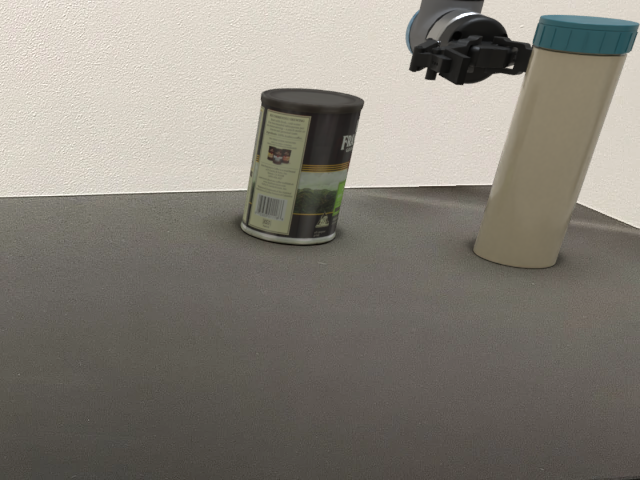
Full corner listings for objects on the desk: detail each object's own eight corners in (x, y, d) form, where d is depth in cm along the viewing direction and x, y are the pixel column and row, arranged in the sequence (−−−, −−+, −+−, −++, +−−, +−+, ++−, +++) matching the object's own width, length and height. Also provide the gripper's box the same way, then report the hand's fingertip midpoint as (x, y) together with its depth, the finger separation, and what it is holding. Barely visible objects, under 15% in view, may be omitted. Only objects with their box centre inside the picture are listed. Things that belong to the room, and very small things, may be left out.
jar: (555, 251, 103) (632, 26, 92) (556, 273, 97) (639, 34, 85) (474, 239, 106) (539, 19, 94) (471, 260, 100) (540, 27, 88)
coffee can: (336, 224, 109) (365, 92, 102) (333, 250, 101) (364, 109, 94) (245, 213, 112) (266, 83, 105) (234, 237, 104) (256, 99, 96)
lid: (626, 46, 93) (636, 19, 91) (633, 57, 86) (644, 27, 85) (532, 39, 96) (539, 12, 94) (531, 48, 89) (540, 20, 88)
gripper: (560, 84, 120) (639, 119, 102) (356, 74, 122) (399, 106, 104) (581, 18, 116) (667, 42, 98) (370, 8, 118) (417, 29, 100)
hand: (529, 75), depth 101 cm, fingers open, 13 cm apart
